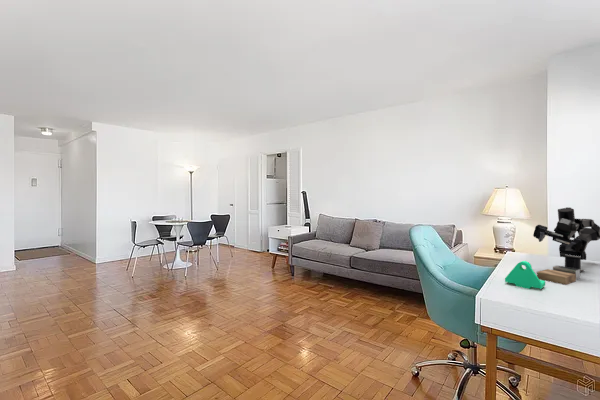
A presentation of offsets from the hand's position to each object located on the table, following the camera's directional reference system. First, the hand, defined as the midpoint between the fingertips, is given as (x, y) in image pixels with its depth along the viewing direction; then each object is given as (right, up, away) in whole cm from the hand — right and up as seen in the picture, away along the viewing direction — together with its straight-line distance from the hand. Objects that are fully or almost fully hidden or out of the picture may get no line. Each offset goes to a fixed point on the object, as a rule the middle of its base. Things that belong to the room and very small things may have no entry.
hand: (551, 244), depth 132 cm
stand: (0, -15, -2) cm, 15 cm away
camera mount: (-19, -16, -9) cm, 26 cm away
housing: (+9, -15, +3) cm, 18 cm away
